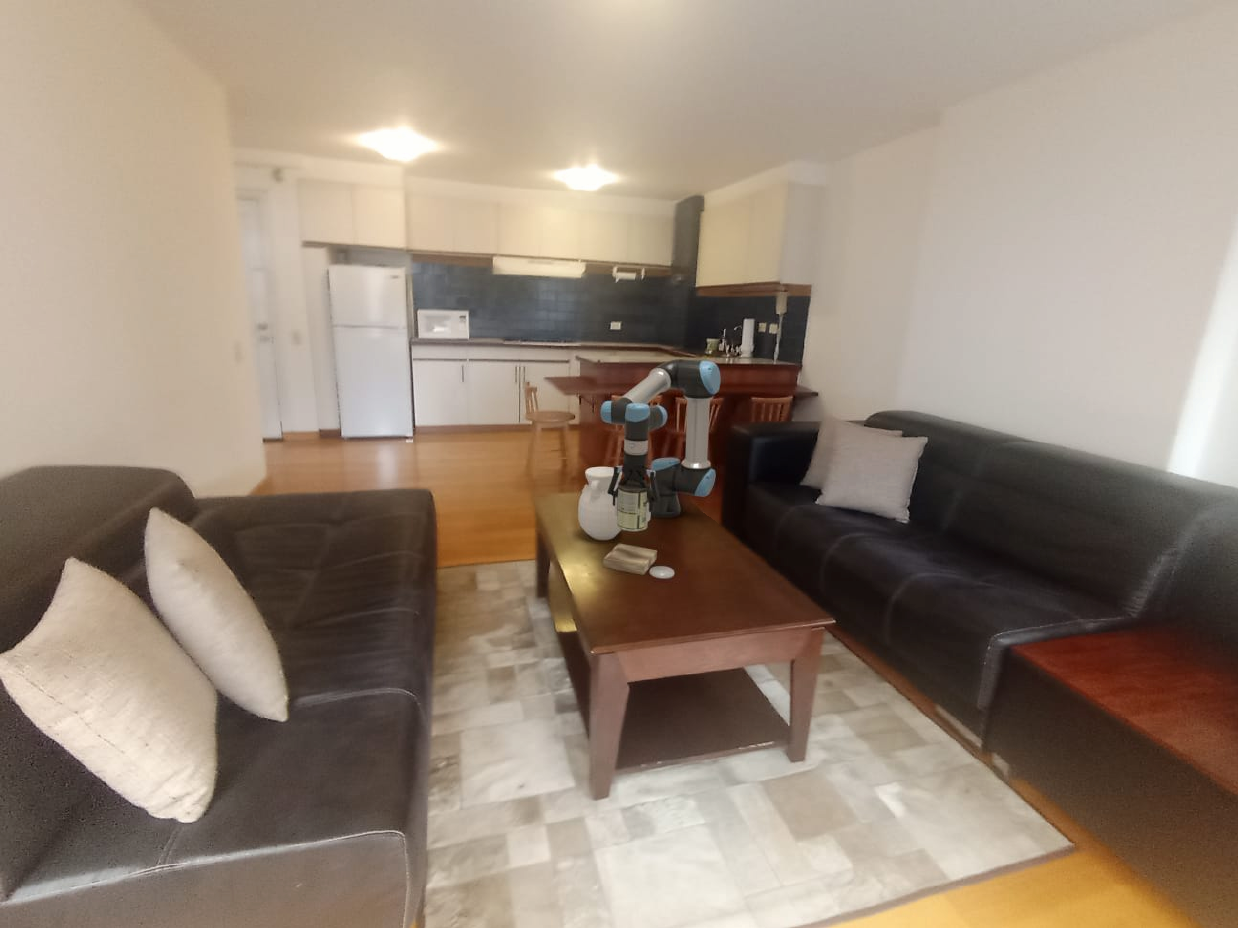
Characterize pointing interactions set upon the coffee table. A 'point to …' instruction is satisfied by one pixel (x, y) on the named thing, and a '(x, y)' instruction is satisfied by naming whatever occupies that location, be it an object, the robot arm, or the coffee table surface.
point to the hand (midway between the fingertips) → (632, 517)
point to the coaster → (662, 572)
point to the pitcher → (598, 504)
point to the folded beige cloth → (630, 559)
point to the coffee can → (632, 506)
